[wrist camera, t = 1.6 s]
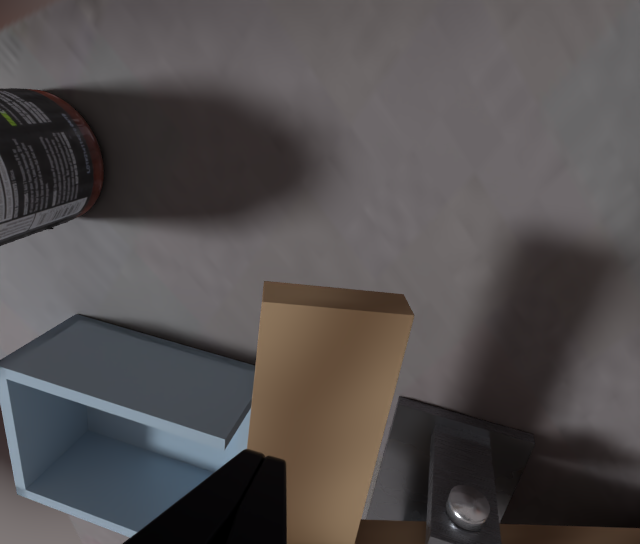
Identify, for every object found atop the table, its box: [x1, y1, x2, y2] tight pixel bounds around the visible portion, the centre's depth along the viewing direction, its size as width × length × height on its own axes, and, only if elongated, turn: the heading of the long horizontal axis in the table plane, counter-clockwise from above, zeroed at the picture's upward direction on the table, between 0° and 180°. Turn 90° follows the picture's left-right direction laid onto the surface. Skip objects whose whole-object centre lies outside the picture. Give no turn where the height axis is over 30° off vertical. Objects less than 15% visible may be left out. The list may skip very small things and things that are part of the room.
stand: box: [366, 396, 535, 544], centre depth 20 cm, size 6×9×6 cm
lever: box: [247, 281, 640, 544], centre depth 15 cm, size 22×14×3 cm, turn 82°
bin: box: [0, 314, 255, 537], centre depth 23 cm, size 11×8×5 cm
